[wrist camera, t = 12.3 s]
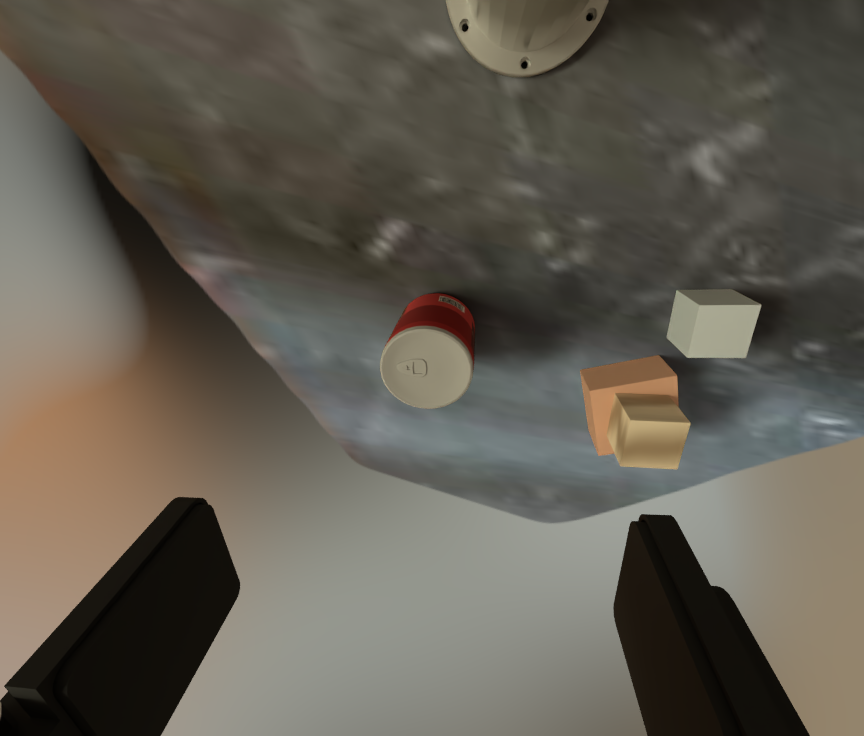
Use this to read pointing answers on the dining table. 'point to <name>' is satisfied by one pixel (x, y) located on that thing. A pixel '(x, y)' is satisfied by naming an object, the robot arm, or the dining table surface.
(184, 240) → the dining table surface
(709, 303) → the pale green-grey cube
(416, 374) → the canned food
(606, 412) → the terracotta block
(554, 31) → the robot arm
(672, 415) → the maple cube
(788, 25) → the dining table surface
